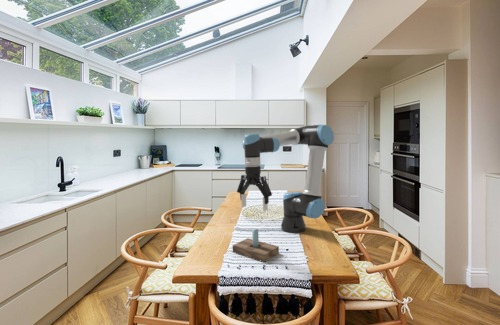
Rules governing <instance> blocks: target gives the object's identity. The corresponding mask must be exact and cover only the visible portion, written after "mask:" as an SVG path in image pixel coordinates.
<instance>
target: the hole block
mask: <svg viewBox="0 0 500 325" xmlns="http://www.w3.org/2000/svg"><path fill="white" fill-rule="evenodd" d="M279 248H280V247H279V246H278V245H275V244H271V243H267V242H264V241H260V240H259V247H258V248H253V239H252V238H248V237H247V238H245V239H243V240H241V241H238V242H237V243H235V244H233V245H232V253H234V252H236V253H235V254H237V253H239V254H238V255H240V254H242V255H241V256H243V255H245V257H247V256H248V258H250V257H251V258H250V259H253V258H254V259H253V260H256V259H257V260H256V261H259V260H261V261H260V262H262V261H264V262H263V263H266V262H267V261H269V260H270V258H271V259H272V258H274V257H275V256H277V255H279V254H280V253H279V252H280V251H279V250H280V249H279ZM268 259H269V260H268ZM266 260H267V261H266ZM265 261H266V262H265Z"/></svg>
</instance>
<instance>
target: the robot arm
mask: <svg viewBox="0 0 500 325" xmlns="http://www.w3.org/2000/svg"><path fill="white" fill-rule="evenodd" d="M334 138H335V135H334V131H333V129H332V127H331V126H330V125H327V124H314V125H304V126H300V127H297V128H292V129H290V130H289V131H285V132H280V133H274V134H273V133H271V134H267V135H261V136H260V134H259V133H254V134H253V133H252V134H251V133H248V134H245V135H244V137H243V141H242V148H243V150H244V165H245V166H244V170H245V171H244V173H245V174H241V175H240V181H239V184H238V187H237V190H236V193H239V194H240V195H239V196H240V201H241V208H245V207H247V195H246V194H247V193H246V191H247V190H248V188H249V187H250V186H255V187H257V188H258V190H259V191H260V193H261V195H262V196H263V197H262V211H263V212H265V211H268V210H269V206H268V204H270V203H269V198H270V197H271V196H273V193H272V191H271V188H270V186H269V184H268V181H267V177H266V176H265V175H264V176H261V173H262V171H261V168H262V167H261V154H264V153H275V152H277V151H279V149H280V148H281V147H282V146H288V145H294V146H296V145H307V149H309V154H308V160H307V161H308V163H307V169H306V176H305V185H304V190H303V191H290V192H285V193H284V194H283V197H282V198H283V199H282V201H283V202H282V203H283V218H282V222H281V224H280V226H281V227H280V228H281V230H282V231H283V232H285V233H292V234H294V233H295V234H296V233H301V232H305V231H306V229H307V228H306V222H305V219H304V217H306V218H308V219H318V218H320V217H321V216H322V215H323V214H324V211H325V208H326V205H325V201H324V200H323V199H322V197H323V195H322V194H321V184H322V183H321V182H322V177H323V176H322V175H323V167H324V162H325V153H326V151H327V150H328V149H329V146H330V145H332V144H333V142H334ZM303 216H304V217H303Z"/></svg>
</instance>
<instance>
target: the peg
mask: <svg viewBox="0 0 500 325" xmlns="http://www.w3.org/2000/svg"><path fill="white" fill-rule="evenodd" d="M251 231H252V232H251V234H252V236H251V239H252V240H253V248H258V247H259V241H260V240H259V229H258V228H252V229H251Z"/></svg>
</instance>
